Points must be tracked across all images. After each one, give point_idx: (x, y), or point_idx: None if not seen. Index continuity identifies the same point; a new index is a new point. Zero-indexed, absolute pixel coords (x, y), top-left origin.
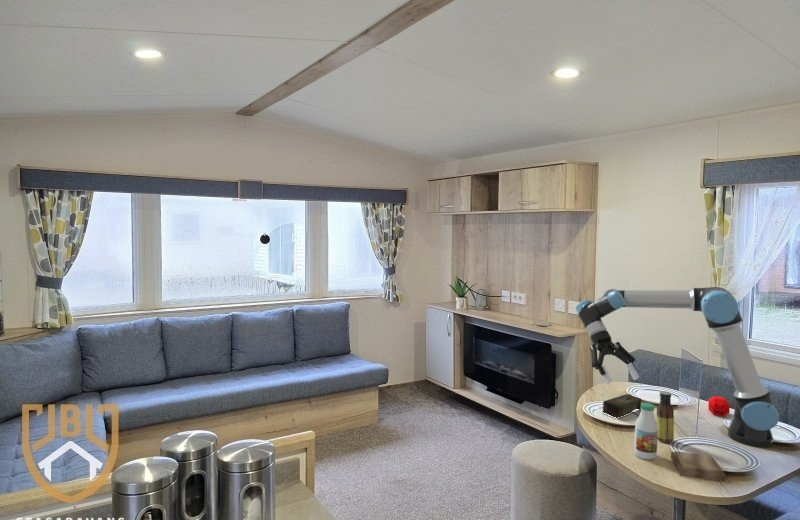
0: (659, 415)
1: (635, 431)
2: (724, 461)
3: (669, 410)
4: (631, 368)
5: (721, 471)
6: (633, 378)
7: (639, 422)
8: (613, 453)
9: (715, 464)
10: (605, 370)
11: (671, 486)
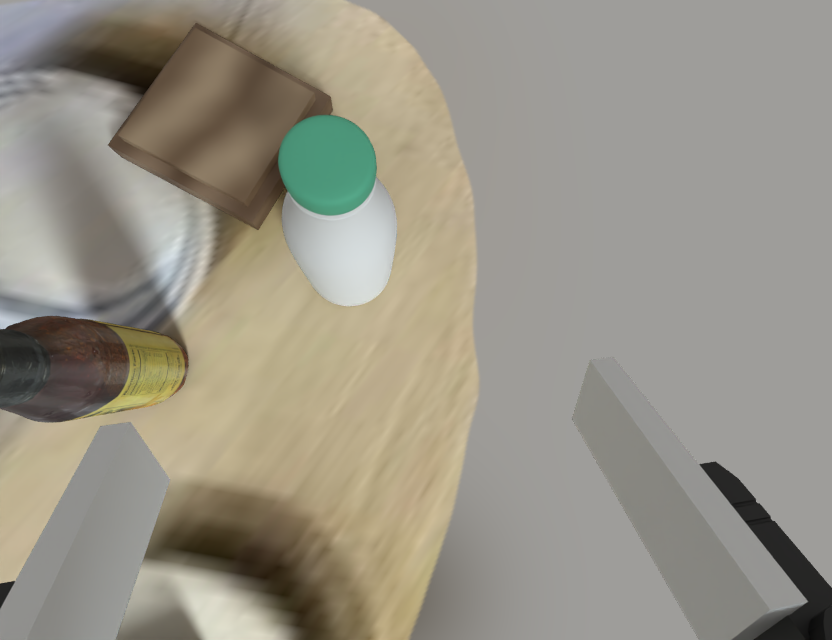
0: (122, 362)
1: (392, 254)
2: (65, 148)
3: (48, 318)
4: (64, 625)
5: (196, 28)
6: (159, 498)
7: (392, 209)
8: (463, 310)
9: (171, 70)
10: (717, 494)
11: (414, 66)
